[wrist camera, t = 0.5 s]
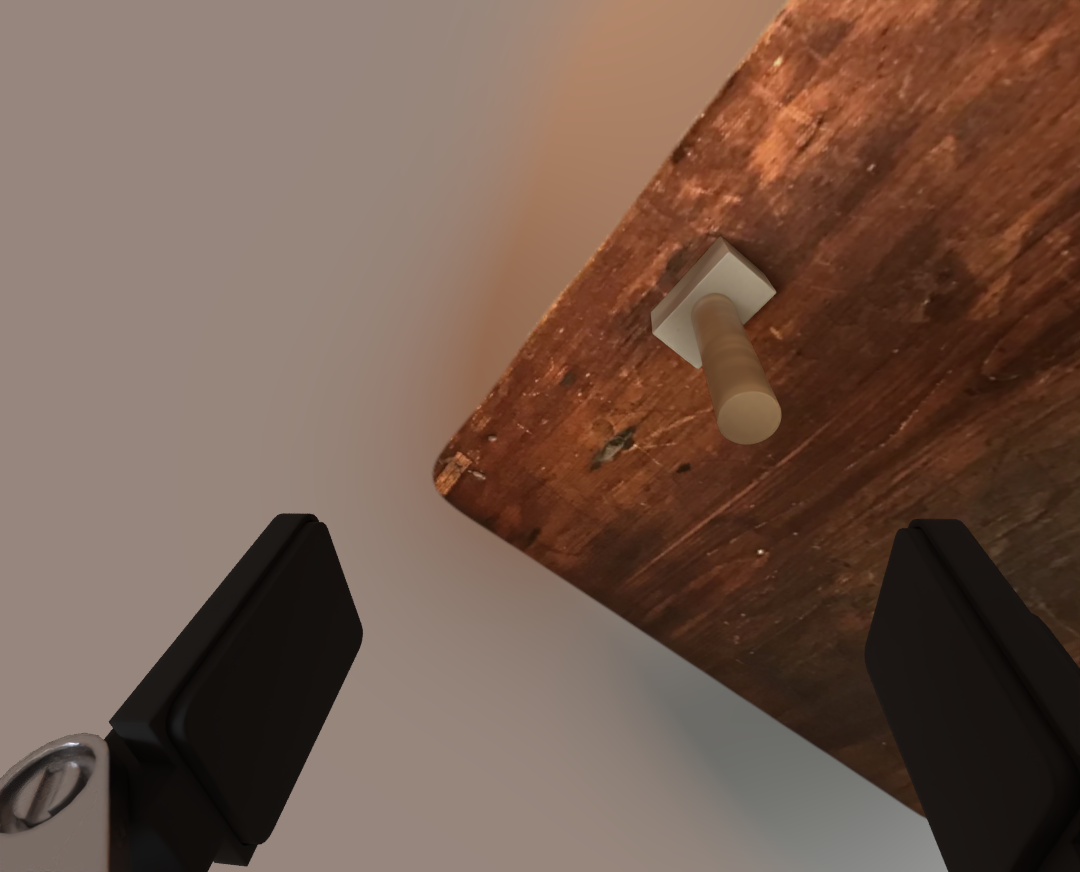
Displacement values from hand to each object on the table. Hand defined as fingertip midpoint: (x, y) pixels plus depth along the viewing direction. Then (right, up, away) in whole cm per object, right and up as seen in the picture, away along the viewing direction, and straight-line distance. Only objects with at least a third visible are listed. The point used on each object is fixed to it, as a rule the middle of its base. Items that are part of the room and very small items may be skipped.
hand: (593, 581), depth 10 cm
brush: (+8, +10, +20) cm, 24 cm away
